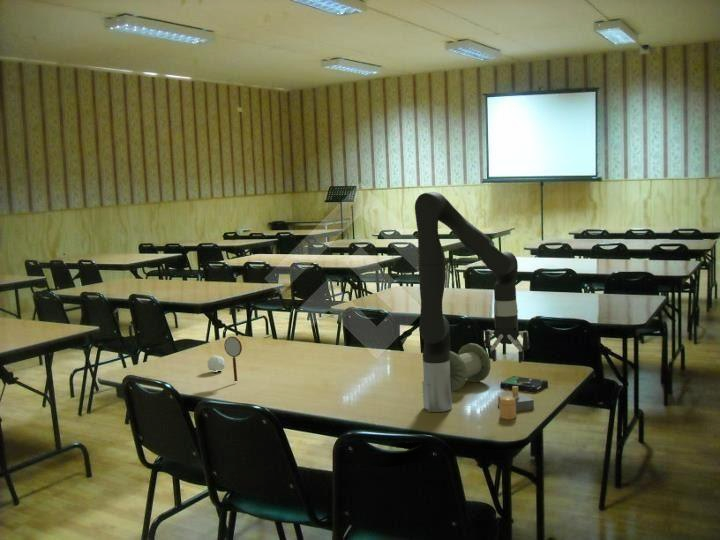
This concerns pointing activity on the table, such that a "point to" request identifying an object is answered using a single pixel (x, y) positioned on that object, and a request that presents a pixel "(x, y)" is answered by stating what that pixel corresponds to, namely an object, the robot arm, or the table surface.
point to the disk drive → (524, 384)
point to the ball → (216, 363)
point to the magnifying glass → (233, 351)
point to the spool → (468, 365)
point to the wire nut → (507, 408)
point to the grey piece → (520, 400)
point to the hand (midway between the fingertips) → (507, 361)
